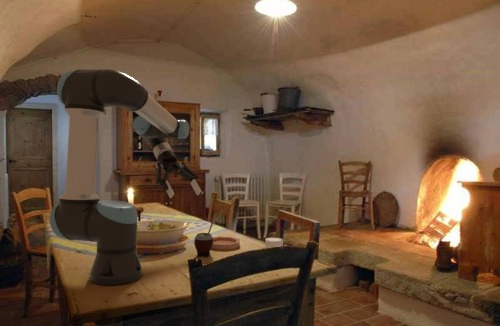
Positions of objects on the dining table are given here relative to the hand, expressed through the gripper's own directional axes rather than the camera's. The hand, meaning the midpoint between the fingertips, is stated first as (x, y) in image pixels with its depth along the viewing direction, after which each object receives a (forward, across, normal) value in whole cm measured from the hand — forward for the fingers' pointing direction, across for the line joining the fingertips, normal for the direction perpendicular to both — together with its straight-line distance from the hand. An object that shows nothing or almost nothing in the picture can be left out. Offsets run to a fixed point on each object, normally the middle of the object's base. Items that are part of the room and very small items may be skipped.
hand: (186, 194), depth 155 cm
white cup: (+39, -16, +8) cm, 43 cm away
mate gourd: (+25, +1, -6) cm, 26 cm away
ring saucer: (+21, -14, -10) cm, 27 cm away
